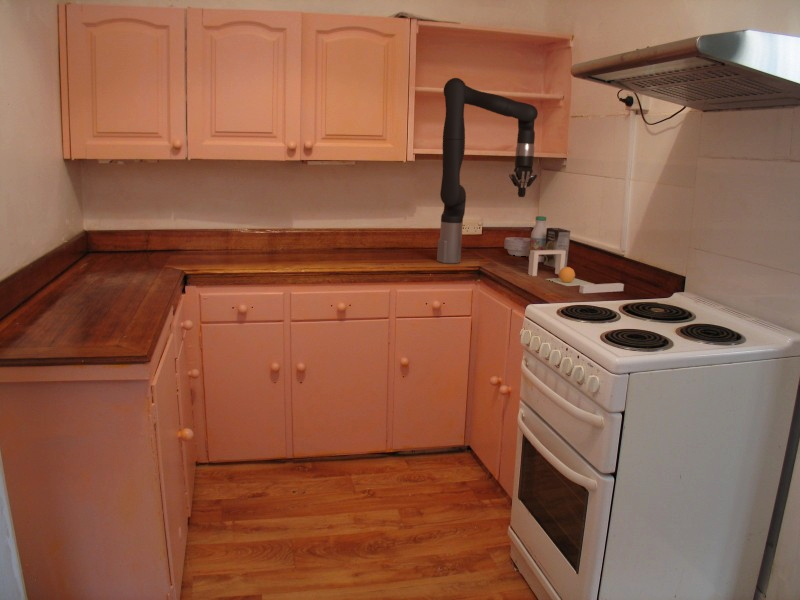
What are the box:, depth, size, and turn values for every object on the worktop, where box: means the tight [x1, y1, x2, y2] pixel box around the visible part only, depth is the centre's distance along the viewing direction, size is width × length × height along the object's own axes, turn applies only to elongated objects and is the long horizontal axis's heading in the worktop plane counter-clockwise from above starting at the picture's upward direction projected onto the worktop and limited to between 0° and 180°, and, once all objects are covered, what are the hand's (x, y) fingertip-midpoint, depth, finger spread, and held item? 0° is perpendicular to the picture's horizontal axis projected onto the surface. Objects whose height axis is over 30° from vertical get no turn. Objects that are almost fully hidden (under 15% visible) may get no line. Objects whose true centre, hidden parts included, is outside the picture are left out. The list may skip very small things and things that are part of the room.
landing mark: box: [545, 277, 595, 287], centre depth 256 cm, size 13×13×1 cm
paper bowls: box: [503, 236, 531, 257], centre depth 318 cm, size 15×15×8 cm
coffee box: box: [543, 227, 571, 269], centre depth 289 cm, size 9×6×16 cm
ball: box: [558, 266, 576, 283], centre depth 253 cm, size 6×6×6 cm
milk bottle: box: [528, 215, 547, 263], centre depth 300 cm, size 8×8×20 cm
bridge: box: [527, 250, 566, 277], centre depth 268 cm, size 3×15×10 cm, turn 114°
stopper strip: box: [578, 282, 625, 294], centre depth 239 cm, size 18×2×2 cm, turn 114°
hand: (521, 196), depth 284 cm, fingers closed
